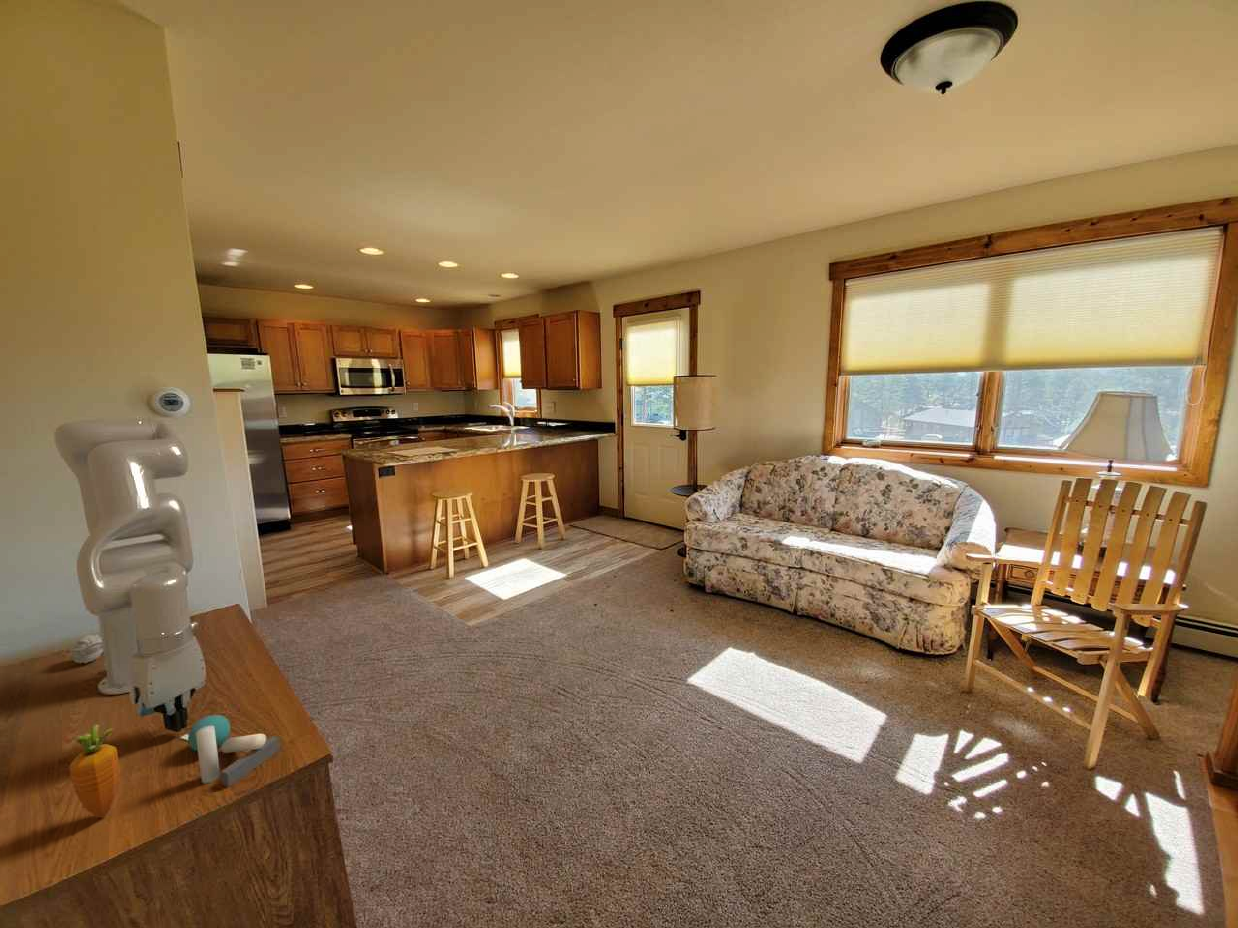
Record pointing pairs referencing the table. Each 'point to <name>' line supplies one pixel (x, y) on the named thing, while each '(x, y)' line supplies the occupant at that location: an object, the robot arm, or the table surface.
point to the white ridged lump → (86, 649)
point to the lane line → (185, 737)
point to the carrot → (95, 773)
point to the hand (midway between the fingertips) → (177, 727)
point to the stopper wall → (249, 761)
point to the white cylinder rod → (208, 754)
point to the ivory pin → (243, 743)
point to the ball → (219, 725)
